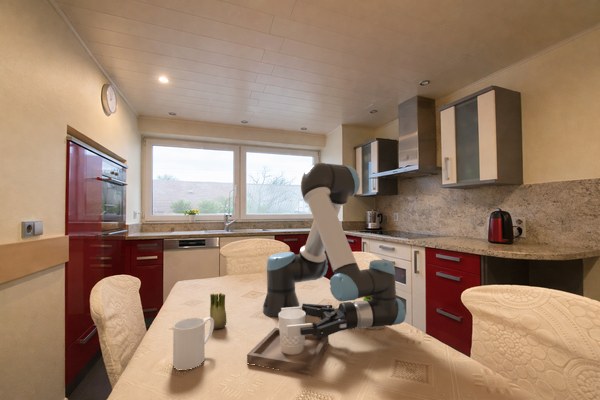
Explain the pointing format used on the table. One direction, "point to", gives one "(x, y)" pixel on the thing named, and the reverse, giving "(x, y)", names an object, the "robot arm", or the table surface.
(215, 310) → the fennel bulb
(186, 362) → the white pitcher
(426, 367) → the table surface
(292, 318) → the white cup
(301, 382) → the table surface
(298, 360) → the tray
